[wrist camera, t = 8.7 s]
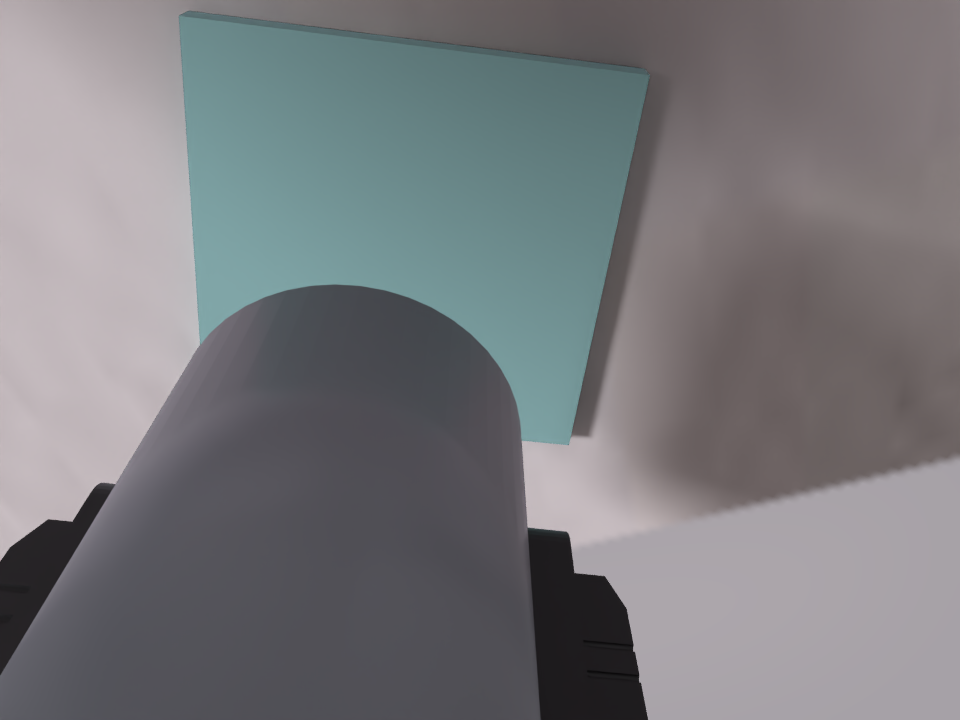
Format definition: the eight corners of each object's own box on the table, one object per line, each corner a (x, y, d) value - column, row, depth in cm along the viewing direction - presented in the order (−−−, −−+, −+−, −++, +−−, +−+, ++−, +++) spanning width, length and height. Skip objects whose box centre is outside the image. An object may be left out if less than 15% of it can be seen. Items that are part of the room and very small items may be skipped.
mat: (188, 10, 16) (178, 15, 15) (644, 68, 16) (649, 75, 16) (211, 395, 21) (204, 409, 20) (566, 430, 21) (569, 445, 21)
